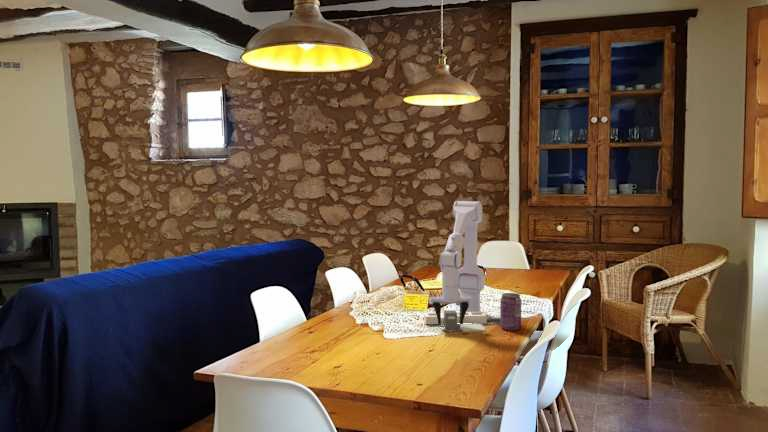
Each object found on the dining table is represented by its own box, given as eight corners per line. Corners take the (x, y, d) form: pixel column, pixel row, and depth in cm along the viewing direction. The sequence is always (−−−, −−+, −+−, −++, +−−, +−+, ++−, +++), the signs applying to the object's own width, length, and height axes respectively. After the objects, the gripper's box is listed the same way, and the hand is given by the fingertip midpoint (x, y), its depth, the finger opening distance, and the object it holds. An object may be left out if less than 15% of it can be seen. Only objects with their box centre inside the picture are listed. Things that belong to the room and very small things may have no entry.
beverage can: (519, 326, 215) (519, 292, 214) (522, 331, 208) (522, 297, 207) (499, 325, 216) (499, 292, 215) (501, 331, 209) (501, 296, 208)
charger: (442, 325, 218) (442, 308, 217) (453, 324, 218) (453, 308, 218) (445, 330, 210) (445, 313, 210) (457, 330, 210) (457, 313, 210)
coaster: (458, 325, 216) (458, 324, 216) (480, 325, 217) (480, 323, 217) (462, 331, 208) (462, 330, 208) (485, 331, 209) (485, 329, 209)
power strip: (424, 320, 224) (424, 311, 224) (499, 319, 225) (499, 309, 225) (426, 326, 215) (426, 316, 215) (504, 325, 217) (504, 315, 216)
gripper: (431, 287, 207) (431, 326, 208) (473, 287, 208) (473, 326, 209) (428, 284, 214) (428, 321, 215) (469, 283, 215) (469, 321, 216)
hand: (450, 323), depth 213 cm, fingers open, 7 cm apart
